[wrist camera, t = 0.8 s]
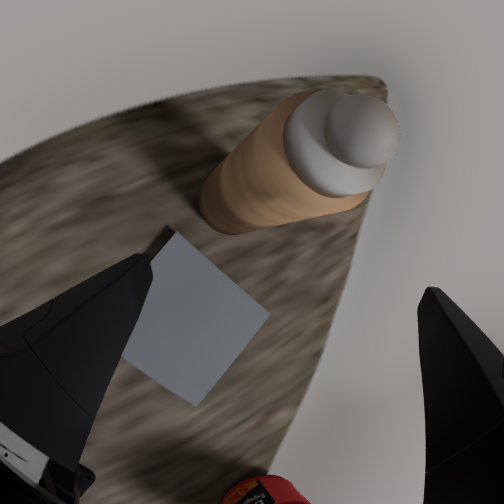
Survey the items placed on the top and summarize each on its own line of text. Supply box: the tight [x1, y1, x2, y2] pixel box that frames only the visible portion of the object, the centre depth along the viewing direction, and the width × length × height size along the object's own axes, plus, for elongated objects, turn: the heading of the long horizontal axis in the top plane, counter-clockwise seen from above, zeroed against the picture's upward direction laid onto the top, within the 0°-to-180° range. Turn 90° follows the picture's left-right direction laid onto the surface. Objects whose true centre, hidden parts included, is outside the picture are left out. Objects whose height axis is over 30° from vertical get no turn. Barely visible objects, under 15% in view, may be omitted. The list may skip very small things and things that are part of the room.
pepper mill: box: [198, 89, 400, 235], centre depth 15 cm, size 5×5×15 cm
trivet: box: [121, 232, 270, 406], centre depth 20 cm, size 9×9×1 cm
